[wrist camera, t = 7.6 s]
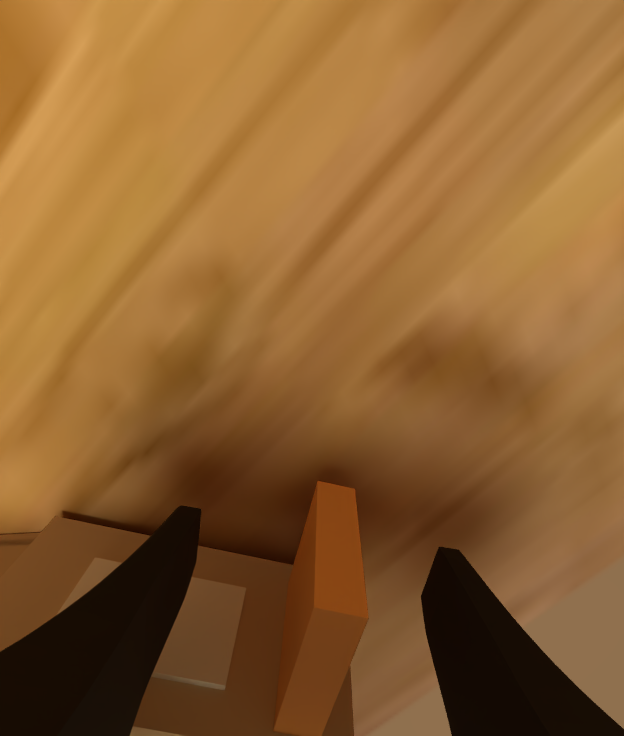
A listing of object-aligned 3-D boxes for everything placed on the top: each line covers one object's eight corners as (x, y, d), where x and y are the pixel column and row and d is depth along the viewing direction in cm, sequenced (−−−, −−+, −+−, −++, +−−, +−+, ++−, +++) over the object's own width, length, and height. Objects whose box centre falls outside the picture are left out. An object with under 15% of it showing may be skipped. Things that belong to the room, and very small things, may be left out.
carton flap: (379, 479, 14) (412, 644, 8) (339, 591, 15) (346, 784, 10) (56, 408, 13) (-123, 538, 8) (55, 533, 15) (-92, 706, 10)
